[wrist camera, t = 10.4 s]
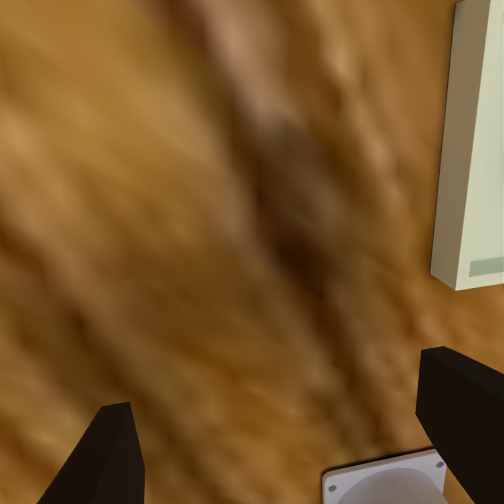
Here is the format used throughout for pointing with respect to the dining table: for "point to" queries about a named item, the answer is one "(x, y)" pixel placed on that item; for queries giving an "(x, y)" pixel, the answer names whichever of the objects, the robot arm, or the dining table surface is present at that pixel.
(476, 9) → the tray
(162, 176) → the dining table surface
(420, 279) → the dining table surface
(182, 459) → the dining table surface
